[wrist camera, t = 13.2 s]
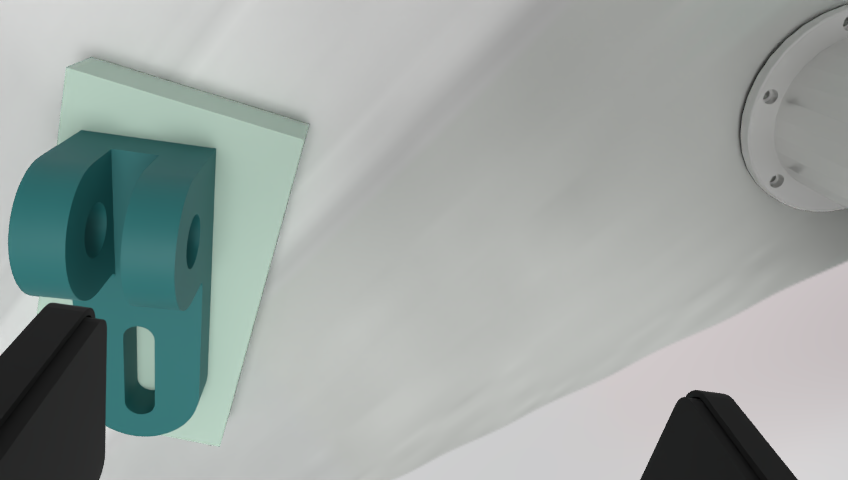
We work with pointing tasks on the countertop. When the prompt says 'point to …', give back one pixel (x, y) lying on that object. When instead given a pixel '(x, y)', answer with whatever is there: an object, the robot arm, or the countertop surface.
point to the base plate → (233, 204)
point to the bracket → (126, 260)
